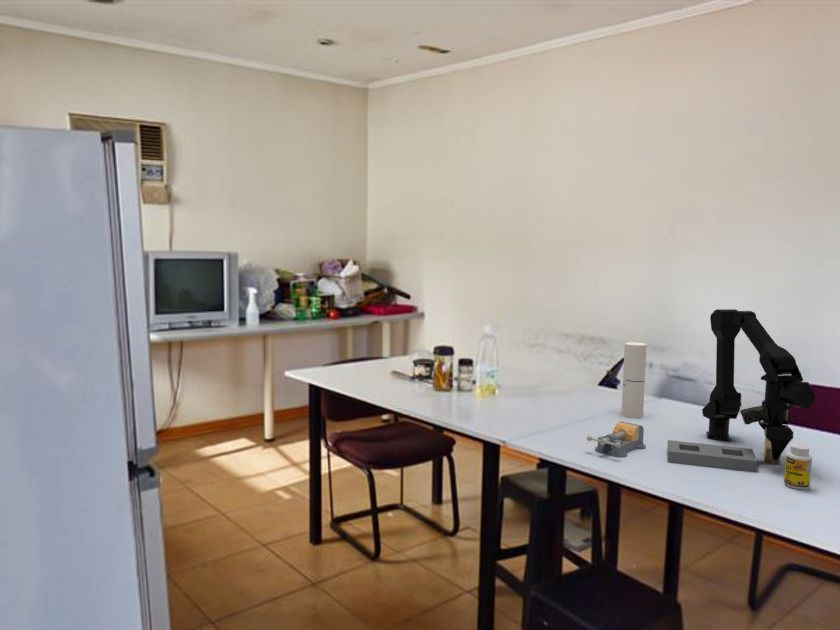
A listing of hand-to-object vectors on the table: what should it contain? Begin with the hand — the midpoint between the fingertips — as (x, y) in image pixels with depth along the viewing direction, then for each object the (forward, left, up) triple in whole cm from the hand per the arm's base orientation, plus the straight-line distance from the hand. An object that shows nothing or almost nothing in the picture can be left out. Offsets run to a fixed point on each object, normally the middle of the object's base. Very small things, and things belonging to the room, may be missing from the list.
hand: (772, 454), depth 185 cm
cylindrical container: (-37, -38, -2) cm, 53 cm away
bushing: (0, 0, -2) cm, 2 cm away
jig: (+5, -16, -2) cm, 17 cm away
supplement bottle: (+18, +3, -2) cm, 18 cm away
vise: (+5, -41, -2) cm, 41 cm away
